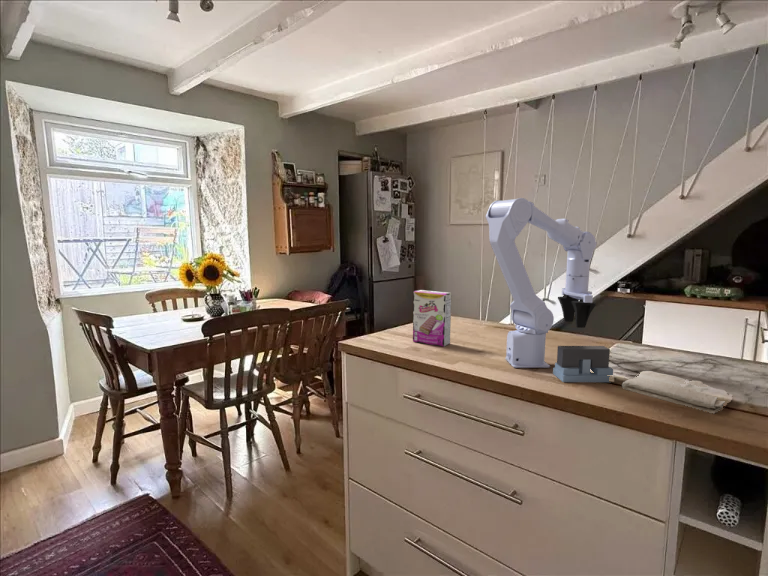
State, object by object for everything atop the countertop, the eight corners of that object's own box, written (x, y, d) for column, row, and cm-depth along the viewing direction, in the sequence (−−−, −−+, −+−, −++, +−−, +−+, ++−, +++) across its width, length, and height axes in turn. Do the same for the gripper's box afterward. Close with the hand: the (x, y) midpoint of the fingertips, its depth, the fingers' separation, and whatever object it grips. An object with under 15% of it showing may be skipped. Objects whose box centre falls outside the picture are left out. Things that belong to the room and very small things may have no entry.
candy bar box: (412, 342, 134) (412, 291, 132) (419, 338, 138) (419, 289, 136) (444, 347, 128) (445, 294, 126) (450, 343, 132) (452, 292, 130)
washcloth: (718, 418, 80) (720, 403, 80) (619, 390, 94) (620, 377, 94) (734, 402, 88) (736, 388, 87) (640, 379, 101) (641, 367, 101)
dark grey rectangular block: (561, 367, 99) (562, 349, 98) (556, 363, 102) (557, 345, 101) (608, 367, 99) (609, 349, 98) (602, 363, 102) (603, 345, 101)
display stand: (562, 382, 98) (564, 361, 97) (552, 373, 104) (553, 353, 103) (614, 382, 98) (616, 361, 97) (601, 373, 104) (602, 354, 103)
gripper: (605, 278, 108) (602, 330, 109) (579, 273, 122) (577, 319, 124) (578, 278, 108) (575, 330, 109) (555, 273, 122) (553, 318, 124)
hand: (574, 324), depth 117 cm, fingers open, 7 cm apart
